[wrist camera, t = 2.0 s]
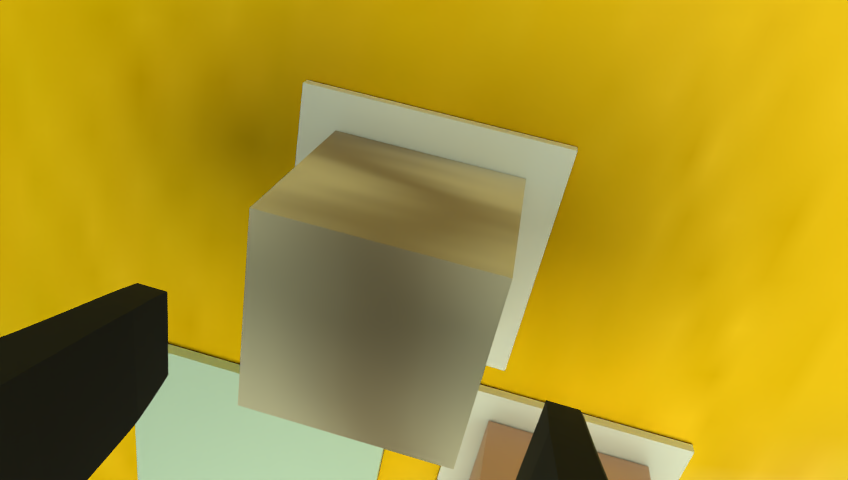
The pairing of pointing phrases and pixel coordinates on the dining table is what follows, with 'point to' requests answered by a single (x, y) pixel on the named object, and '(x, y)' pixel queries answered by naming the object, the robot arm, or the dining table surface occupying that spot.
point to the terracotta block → (509, 447)
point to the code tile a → (463, 143)
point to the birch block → (377, 293)
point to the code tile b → (607, 436)
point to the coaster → (235, 433)
